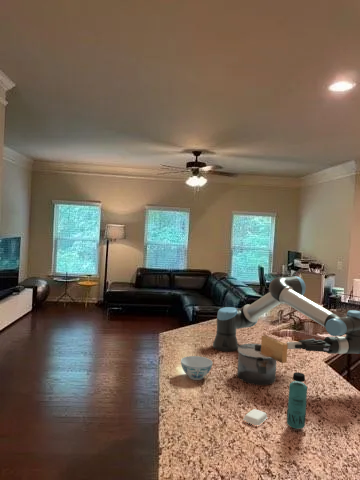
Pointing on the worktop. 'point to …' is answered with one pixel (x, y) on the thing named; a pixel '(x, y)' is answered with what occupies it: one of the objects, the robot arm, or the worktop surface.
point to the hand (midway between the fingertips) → (287, 345)
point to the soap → (255, 417)
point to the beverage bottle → (297, 402)
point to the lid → (265, 349)
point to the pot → (256, 370)
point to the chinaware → (196, 366)
